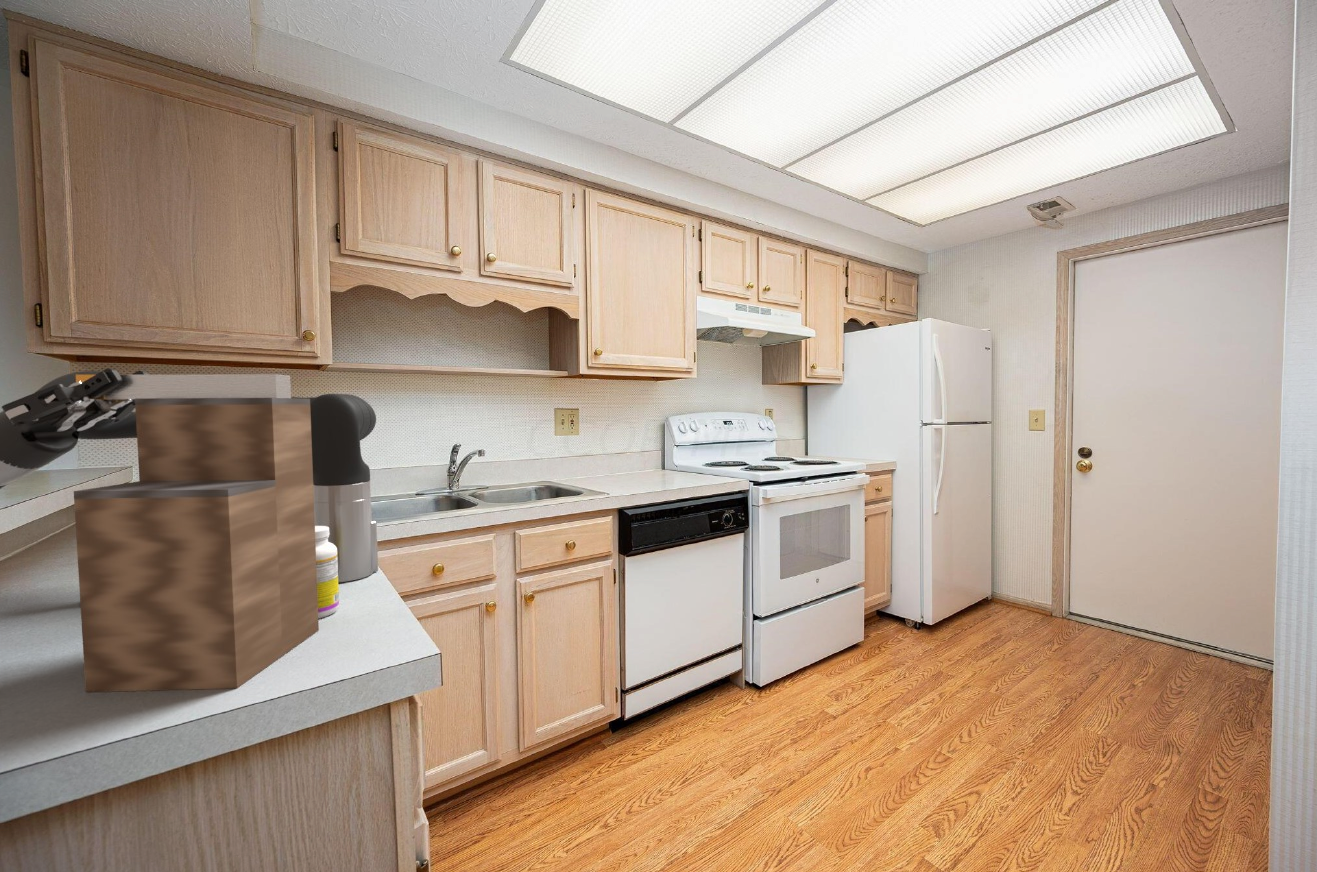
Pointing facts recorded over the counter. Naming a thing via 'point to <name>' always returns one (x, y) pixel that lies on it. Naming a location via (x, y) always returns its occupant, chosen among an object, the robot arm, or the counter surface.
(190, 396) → the bar
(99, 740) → the counter surface
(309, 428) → the stand
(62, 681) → the counter surface
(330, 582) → the supplement bottle
